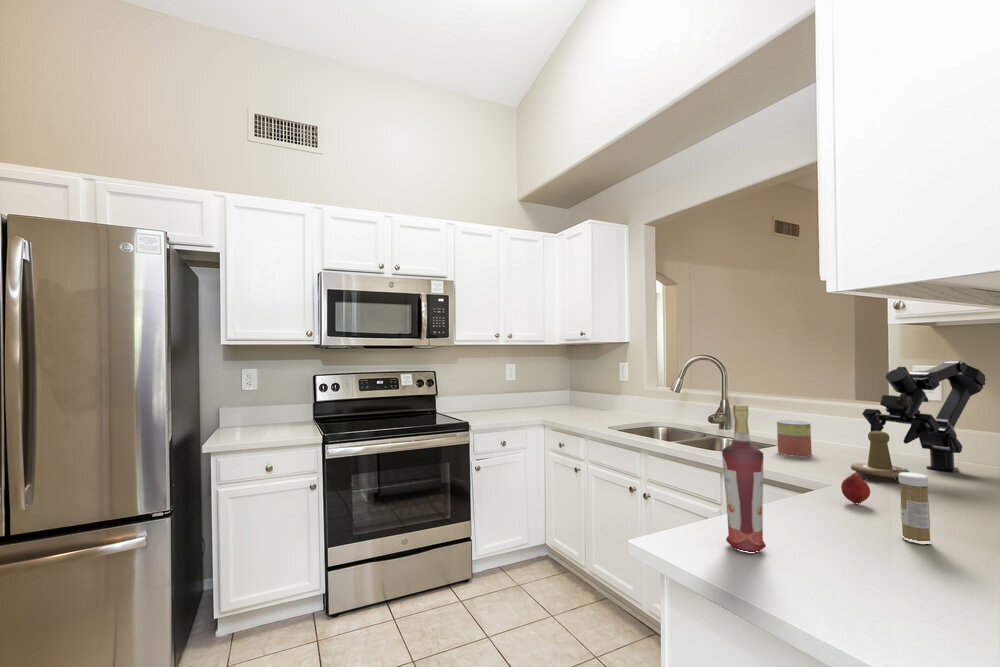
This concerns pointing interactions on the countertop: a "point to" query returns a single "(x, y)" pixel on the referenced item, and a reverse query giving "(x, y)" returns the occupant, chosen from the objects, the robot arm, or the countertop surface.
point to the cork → (879, 451)
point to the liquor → (743, 487)
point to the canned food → (794, 438)
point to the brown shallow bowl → (876, 471)
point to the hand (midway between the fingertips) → (887, 440)
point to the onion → (855, 488)
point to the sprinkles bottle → (915, 506)
